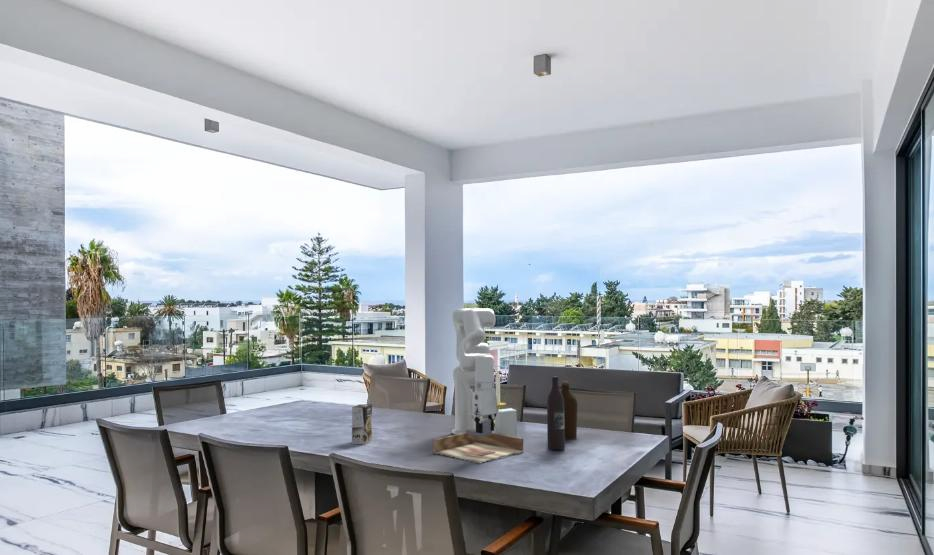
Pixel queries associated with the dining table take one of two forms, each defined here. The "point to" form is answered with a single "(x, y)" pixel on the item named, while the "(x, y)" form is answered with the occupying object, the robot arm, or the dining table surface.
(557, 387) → the wine bottle
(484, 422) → the gray t-shaped block
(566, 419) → the olive oil
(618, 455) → the dining table surface
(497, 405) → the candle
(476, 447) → the corner arena
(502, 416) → the skincare box
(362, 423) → the coffee box
